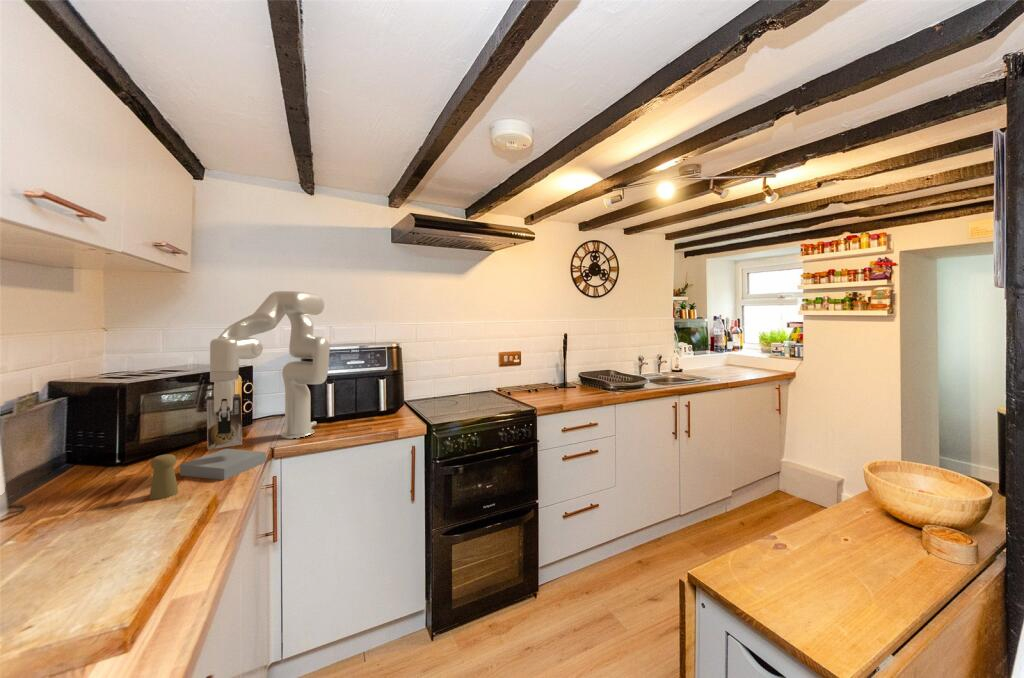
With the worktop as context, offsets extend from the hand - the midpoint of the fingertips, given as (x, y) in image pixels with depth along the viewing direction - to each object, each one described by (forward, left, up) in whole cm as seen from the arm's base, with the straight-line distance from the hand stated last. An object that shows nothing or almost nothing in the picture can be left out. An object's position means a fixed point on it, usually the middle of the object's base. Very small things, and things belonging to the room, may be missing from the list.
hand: (224, 430), depth 128 cm
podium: (0, 0, -13) cm, 13 cm away
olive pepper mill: (+20, +1, -13) cm, 24 cm away
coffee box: (0, 0, -5) cm, 5 cm away
